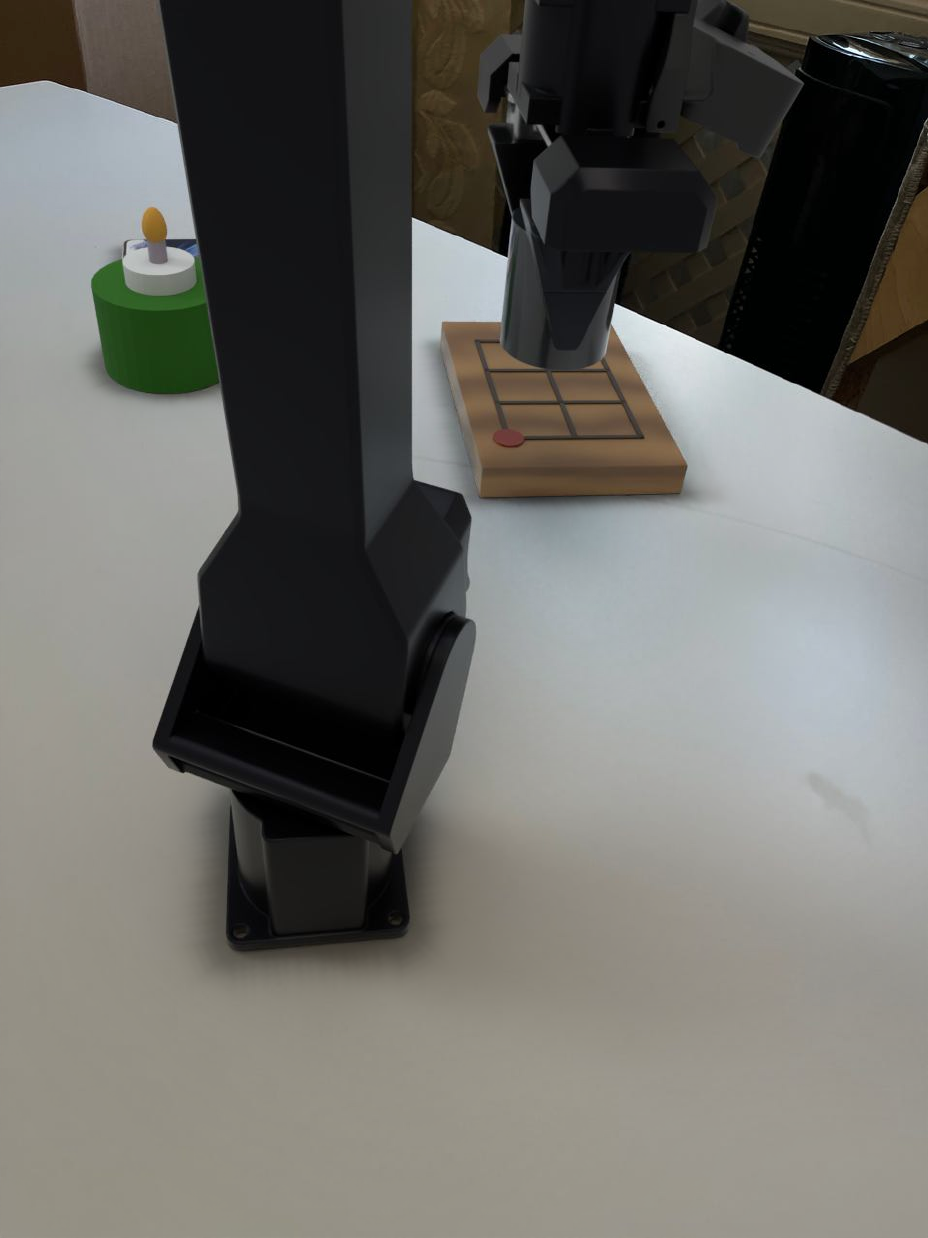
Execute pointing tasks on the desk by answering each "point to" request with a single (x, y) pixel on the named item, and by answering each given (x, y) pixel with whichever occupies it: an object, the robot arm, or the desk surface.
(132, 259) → the candle
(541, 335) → the dark grey cylinder
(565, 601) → the desk surface
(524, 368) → the board
